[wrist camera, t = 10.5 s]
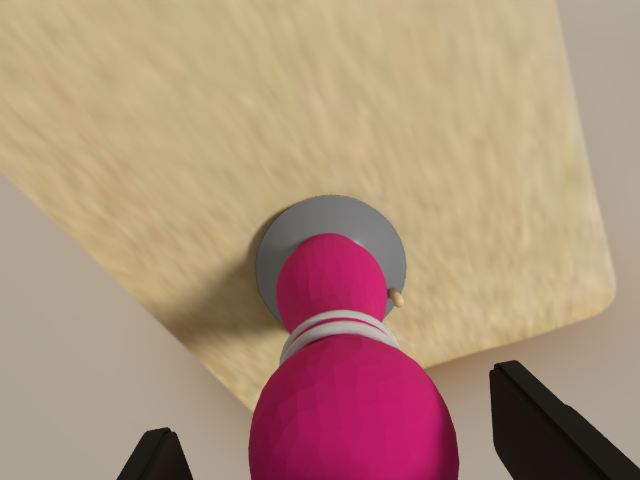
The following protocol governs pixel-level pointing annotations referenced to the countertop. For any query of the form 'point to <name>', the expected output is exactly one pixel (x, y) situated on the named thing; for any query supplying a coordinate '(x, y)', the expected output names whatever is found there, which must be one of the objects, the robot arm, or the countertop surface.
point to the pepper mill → (345, 381)
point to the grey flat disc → (339, 219)
